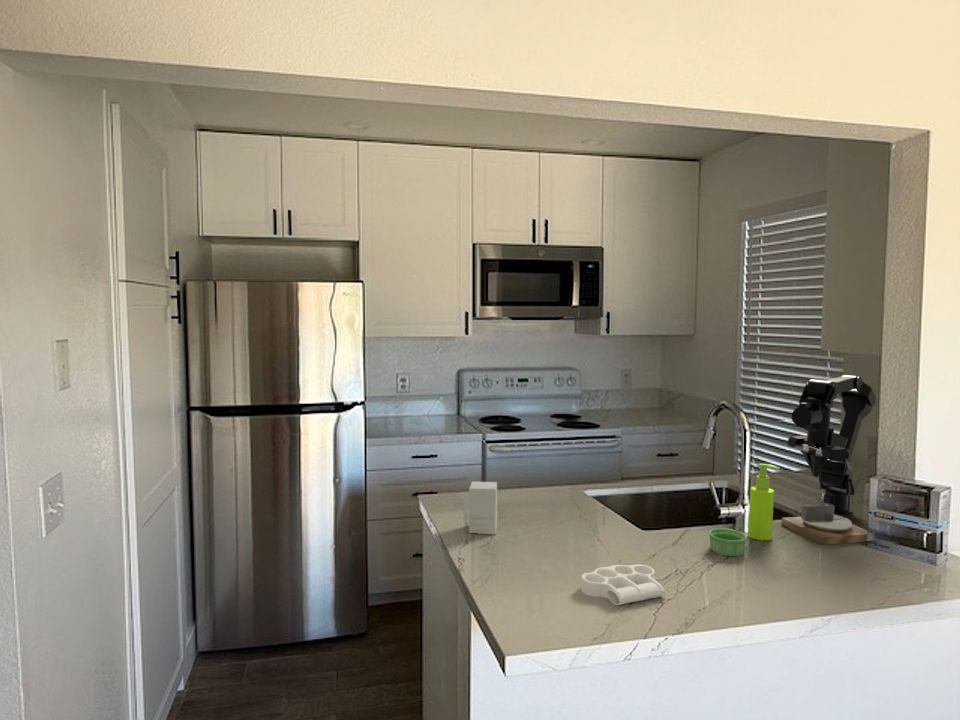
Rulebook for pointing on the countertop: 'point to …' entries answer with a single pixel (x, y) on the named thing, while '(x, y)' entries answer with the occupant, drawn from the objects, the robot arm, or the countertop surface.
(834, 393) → the robot arm
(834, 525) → the dial
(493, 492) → the supplement box
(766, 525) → the soap dispenser
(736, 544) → the ramekin
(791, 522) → the dial base
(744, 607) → the countertop surface
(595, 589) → the white brass knuckles
